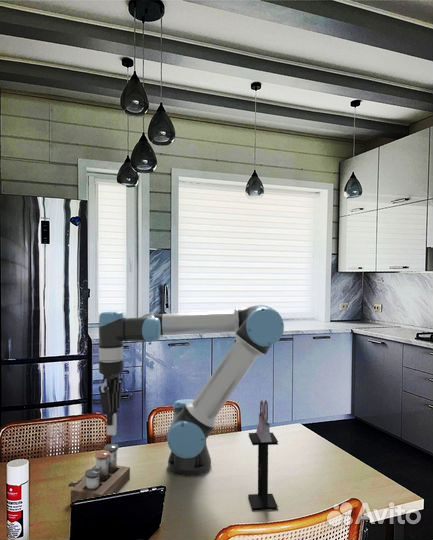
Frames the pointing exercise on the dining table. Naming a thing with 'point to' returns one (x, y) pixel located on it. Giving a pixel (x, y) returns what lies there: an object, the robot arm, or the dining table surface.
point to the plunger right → (112, 457)
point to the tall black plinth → (263, 462)
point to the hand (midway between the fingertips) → (111, 434)
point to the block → (102, 485)
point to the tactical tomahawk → (79, 480)
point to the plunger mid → (102, 464)
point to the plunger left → (92, 479)
